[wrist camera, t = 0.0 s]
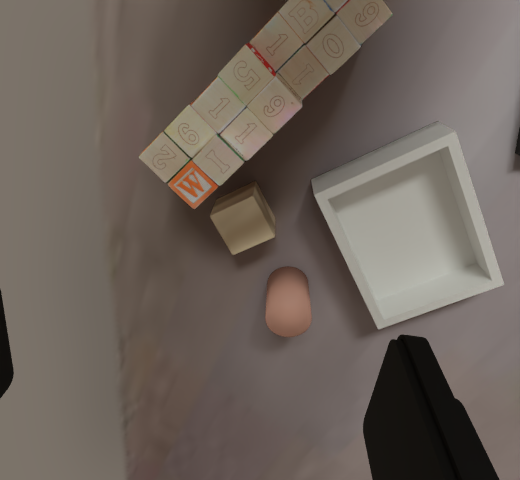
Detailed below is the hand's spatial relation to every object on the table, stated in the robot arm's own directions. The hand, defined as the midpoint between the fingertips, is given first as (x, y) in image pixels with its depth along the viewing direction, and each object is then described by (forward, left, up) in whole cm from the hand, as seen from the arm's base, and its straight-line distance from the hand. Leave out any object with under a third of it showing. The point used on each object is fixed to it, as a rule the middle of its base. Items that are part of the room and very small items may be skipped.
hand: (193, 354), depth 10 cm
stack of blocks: (-3, +2, -38) cm, 38 cm away
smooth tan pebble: (+20, -6, -37) cm, 43 cm away
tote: (+18, +8, -37) cm, 42 cm away
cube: (+9, -6, -37) cm, 39 cm away
